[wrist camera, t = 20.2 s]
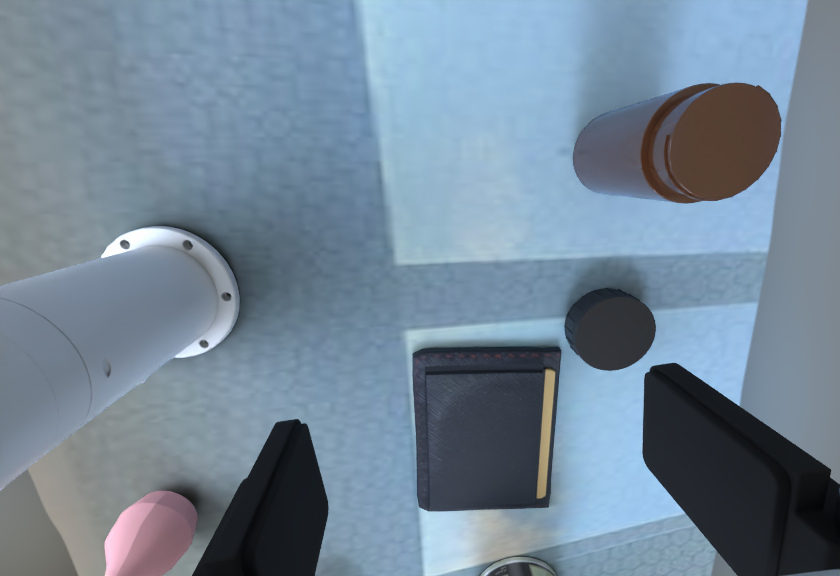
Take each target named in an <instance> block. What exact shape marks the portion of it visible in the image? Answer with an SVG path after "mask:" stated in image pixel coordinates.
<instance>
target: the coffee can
mask: <svg viewBox="0 0 840 576" xmlns="http://www.w3.org/2000/svg"><path fill="white" fill-rule="evenodd" d="M481 576H557V575H556V573H555V572H554V570H553V569H552V568H551V567H550V566H549V565H547V564H546V563H544V562H542V561H540V560H538V559H535V558H530V557H511V558H506V559H503V560H500V561H498V562H496V563H494V564H492V565H491V566H489V567H488V568H487V569H486V570H485V571H484V572H483V573H482V574H481Z"/></svg>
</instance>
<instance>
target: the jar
mask: <svg viewBox="0 0 840 576" xmlns="http://www.w3.org/2000/svg"><path fill="white" fill-rule="evenodd" d="M780 137H781V117H780V114H779V110H778V106H777V104H776V103H775V101H774V100H773V98H772V97H771V95H770V93H768V92H767V91H766V90H764V89H763V88H762V87H760V86H759V85H758V86H756V87H755V86H753V85H750V84H746V83H728V84H723V85H719V84H712V83H706V84H698V85H693V86H690V87H687V88H684V89H680V90H677V91H674V92H671V93H668V94H664V95H661V96H658V97H655V98H652V99H649V100H645V101H642V102H639V103H636V104H633V105H630V106H626V107H623V108H620V109H617V110H614V111H610V112H607V113H604V114H602V115H600V116H598V117H596V118H595V119H593V120H592V121H591V122H590V123H589V124H588V125H587V126H586V127H585V128H584V129H583V131H582V132H581V134H580V135H579V137H578V139H577V142H576V144H575V148H574V153H573V164H574V169H575V172H576V175H577V177H578V178H579V180H580V181H581V183H582V184H583V185H584V186H585V187H587V188H588V189H590V190H591V191H593V192H596V193H600V194H606V195H615V196H623V197H632V198H640V199H649V200H657V201H666V202H675V203H695V202H700V201H718V200H722V199H726V198H729V197H732V196H734V195H736V194H738V193H740V192H742V191H744V190H746V189H747V188H748V187H749V186H751V185H752V184H753V183H754V182H755V181H757V180H758V179H759V178H760V176H761V175H762V174H763V173H764V172H765V170H766V169H767V168H768V167H769V165H770V163H771V161H772V160H773V158H774V155H775V153H776V152H777V148H778V145H779V140H780Z"/></svg>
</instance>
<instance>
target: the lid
mask: <svg viewBox="0 0 840 576" xmlns="http://www.w3.org/2000/svg"><path fill="white" fill-rule="evenodd" d="M655 331H656V325H655V320H654V317H653V314H652V312H651V311H650V310H649V308H648V307H647V306H646V305H645V304H643V303H642V302H641V301H640V300H639V299H637V298H635V297H634V296H632V295H630V294H627V293H625V292H623V291H621V290H620V289H618V290H617V289H610V288H606V289H598V290H594V291H592V292H590V293H588V294H586V295H584V296H583V297H581V298H580V299H579V300H578V301H577V302H576V303H575V304H574V305H573V306H572V308H571V309H570V311H569V313H568V315H567V318H566V322H565V334H566V338H567V340H568V342H569V344H570V347H571V348H572V349H573V350H574V352H575V353H576V354H577V355H579V356H580V357H581V358H582V359H583V360H584V361H585V362H586V363H587V364H589V365H590V366H592V367H594V368H597V369H600V370H608V371H611V370H619V369H623V368H626V367H628V366H630V365H632V364H634V363H636V362H637V361H638V360H640V359H641V358H642V357H643V356H644V355H645V354H646V353H647V351H648V350H649V348H650V347H651V345H652V343H653V340H654V337H655Z"/></svg>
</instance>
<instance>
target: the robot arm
mask: <svg viewBox="0 0 840 576" xmlns="http://www.w3.org/2000/svg"><path fill="white" fill-rule="evenodd" d="M191 242H192V244H193V245H192V244H191ZM228 293H229V294H230V295H231V296H230V295H229V294H228ZM239 305H240V296H239V290H238V285H237V282H236V279H235V277H234V274H233V272H232V270H231V269H230V267H229V265H228V264H227V262H226V260H225V259H224V258H223V257H222V256H221V255H220V254H219V252H218V251H217V250H216V249H215V248H213V247H212V246H211V245H210V244H209V243H207V242H206V241H205V240H203V239H201V238H199V237H198V236H196V235H194V234H192V233H190V232H187V231H184V230H182V229H178V228H173V227H168V226H151V227H145V228H140V229H136V230H133V231H130V232H127V233H125V234H123V235H121V236H119V237H118V238H117V239H115V240H114V241H113V242H112V243H111V244H110V245H109V246H108V247H107V249H106V250H105V252H104V253H103V255H102V256H101V258H100V259H96V260H93V261H89V262H85V263H82V264H78V265H74V266H71V267H67V268H63V269H60V270H56V271H52V272H49V273H45V274H41V275H38V276H34V277H30V278H27V279H23V280H19V281H16V282H12V283H8V284H4V285H1V286H0V491H1V490H2V489H3V488H4V487H5V486H6V485H8V484H9V483H10V482H11V481H12V480H14V479H15V478H16V477H18V476H19V475H20V474H21V473H22V472H24V471H25V470H26V469H28V468H29V467H30V466H31V465H33V464H34V463H35V462H36V461H38V460H39V459H40V458H42V457H43V456H44V455H45V454H47V453H48V452H49V451H51V450H52V449H53V448H55V447H56V446H57V445H59V444H60V443H61V442H63V441H64V440H65V439H66V438H68V437H69V436H71V435H72V434H73V433H75V432H76V431H77V430H79V429H80V428H81V427H83V426H84V425H85V424H87V423H88V422H89V421H90V420H92V419H93V418H94V417H96V416H97V415H98V414H100V413H101V412H102V411H104V410H105V409H106V408H108V407H109V406H110V405H111V404H113V403H114V402H115V401H117V400H118V399H119V398H121V397H122V396H123V395H125V394H126V393H127V392H129V391H130V390H131V389H133V388H134V387H135V386H136V385H138V384H142V383H144V382H145V381H146V379H147V377H148V376H150V375H151V374H152V373H154V372H155V371H156V370H158V369H159V368H160V367H161V366H163V365H164V364H165V363H167V362H168V361H169V360H171V359H172V358H185V357H191V356H196V355H199V354H202V353H204V352H207V351H209V350H210V349H212V348H213V347H215V346H217V345H218V344H219V343H220V342H221V341H222V340H224V339H225V338H226V336H227V335H228V334H229V333H230V331H231V330H232V328H233V326H234V324H235V322H236V320H237V317H238V312H239ZM643 459H644V461H645V464H646V466H647V467H648V469H649V470H650V471H651V472H652V473H653V475H654V476H655V477H656V478H657V479H658V481H659V482H660V483H661V484H662V485H663V487H664V488H665V489H666V490H667V491H668V493H669V494H670V495H671V496H672V497H673V499H674V500H675V501H676V502H677V503H678V505H679V506H680V507H681V508H682V509H683V511H684V512H685V513H686V514H687V515H688V517H689V518H690V519H691V520H692V521H693V523H694V524H695V525H696V526H697V527H698V529H699V530H700V531H701V532H702V534H703V535H704V536H705V537H706V538H707V540H708V541H709V542H710V543H711V544H712V546H713V547H714V548H715V549H716V550H717V552H718V553H719V554H720V555H721V556H722V558H723V559H724V560H725V561H726V562H727V564H728V565H729V566H730V567H731V568H732V570H733V571H734V572H735V573H736V574H737V575H738V576H840V484H838V483H837V482H835V481H834V480H833V479H831V478H830V474H831V469H829V468H828V467H826V466H825V465H823V464H822V463H821V462H819V461H818V460H816V459H815V458H813V457H812V456H811V455H809V454H808V453H806V452H805V451H803V450H802V449H800V448H799V447H798V446H796V445H795V444H793V443H792V442H790V441H789V440H787V439H786V438H784V437H783V436H781V435H780V434H779V433H777V432H776V431H774V430H773V429H771V428H770V427H769V426H767V425H766V424H764V423H763V422H761V421H760V420H758V419H757V418H755V417H754V416H753V415H751V414H750V413H748V412H747V411H745V410H744V409H742V408H741V407H740V406H738V405H737V404H735V403H734V402H732V401H731V400H729V399H728V398H727V397H725V396H724V395H722V394H721V393H719V392H718V391H716V390H715V389H714V388H712V387H711V386H709V385H708V384H706V383H705V382H703V381H702V380H701V379H699V378H698V377H696V376H695V375H693V374H692V373H690V372H689V371H687V370H686V369H685V368H683V367H682V366H680V365H679V364H677V363H669V364H662V365H656V366H652V367H651V369H650V372H647V373H646V374H645V378H644V415H643ZM327 517H328V500H327V496H326V492H325V488H324V485H323V481H322V477H321V473H320V470H319V466H318V462H317V458H316V455H315V451H314V447H313V444H312V440H311V436H310V432H309V429H308V426H307V424H301V422H300V421H299V420H298V419H294V420H288V421H281V422H277V423H276V424H275V425H274V427H273V429H272V431H271V433H270V435H269V437H268V439H267V441H266V443H265V445H264V447H263V449H262V451H261V452H260V454H259V456H258V458H257V460H256V462H255V464H254V466H253V468H252V470H251V472H250V474H249V476H248V478H246V479H244V480H243V481H242V483H241V484H240V486H239V488H238V490H237V491H236V493H235V495H234V497H233V499H232V501H231V503H230V505H229V507H228V509H227V510H226V512H225V514H224V516H223V518H222V520H221V522H220V524H219V526H218V527H217V529H216V531H215V533H214V535H213V537H212V539H211V541H210V543H209V545H208V546H207V548H206V550H205V552H204V554H203V556H202V558H201V560H200V562H199V563H198V565H197V567H196V569H195V571H194V573H193V575H192V576H315V571H316V567H317V562H318V558H319V553H320V549H321V544H322V540H323V535H324V531H325V526H326V522H327Z"/></svg>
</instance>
